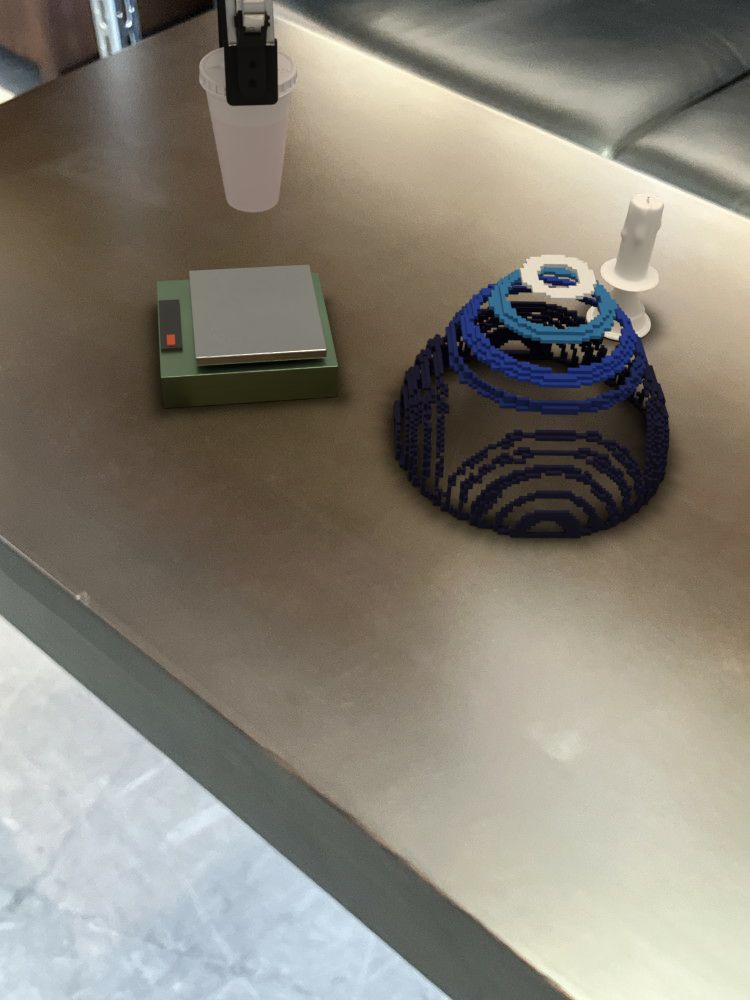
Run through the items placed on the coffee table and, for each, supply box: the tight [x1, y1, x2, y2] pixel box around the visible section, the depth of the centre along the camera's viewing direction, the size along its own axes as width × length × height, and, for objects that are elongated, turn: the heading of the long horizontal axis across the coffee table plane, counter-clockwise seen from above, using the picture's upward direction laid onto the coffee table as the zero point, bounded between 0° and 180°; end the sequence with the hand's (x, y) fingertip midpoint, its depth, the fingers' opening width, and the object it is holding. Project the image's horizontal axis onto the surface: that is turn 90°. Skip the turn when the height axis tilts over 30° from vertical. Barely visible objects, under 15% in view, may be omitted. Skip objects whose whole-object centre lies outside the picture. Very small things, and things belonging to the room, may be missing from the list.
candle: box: [585, 193, 665, 341], centre depth 91 cm, size 5×5×12 cm
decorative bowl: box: [392, 254, 671, 538], centre depth 80 cm, size 20×20×14 cm
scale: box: [156, 272, 339, 409], centre depth 89 cm, size 13×12×3 cm
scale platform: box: [188, 264, 327, 366], centre depth 88 cm, size 10×11×1 cm
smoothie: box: [198, 0, 299, 213], centre depth 76 cm, size 6×6×14 cm
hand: (247, 74), depth 74 cm, fingers closed on smoothie, 6 cm apart
